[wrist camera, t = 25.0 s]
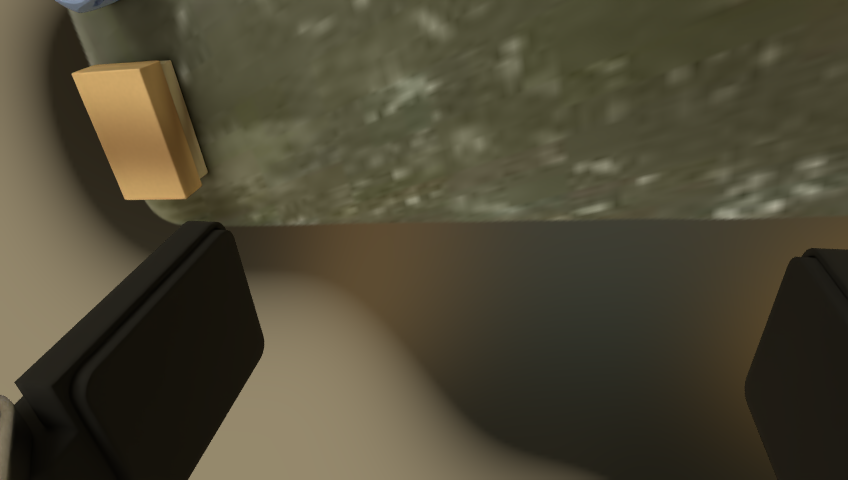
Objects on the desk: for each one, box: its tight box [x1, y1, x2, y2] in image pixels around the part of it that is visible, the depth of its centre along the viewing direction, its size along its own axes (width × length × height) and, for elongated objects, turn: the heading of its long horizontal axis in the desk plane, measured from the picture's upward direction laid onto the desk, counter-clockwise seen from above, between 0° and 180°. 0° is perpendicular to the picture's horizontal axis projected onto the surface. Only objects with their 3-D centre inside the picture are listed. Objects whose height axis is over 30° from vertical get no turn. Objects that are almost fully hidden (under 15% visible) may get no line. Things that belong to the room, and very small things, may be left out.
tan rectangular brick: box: [72, 60, 208, 200], centre depth 33 cm, size 8×4×3 cm, turn 6°
